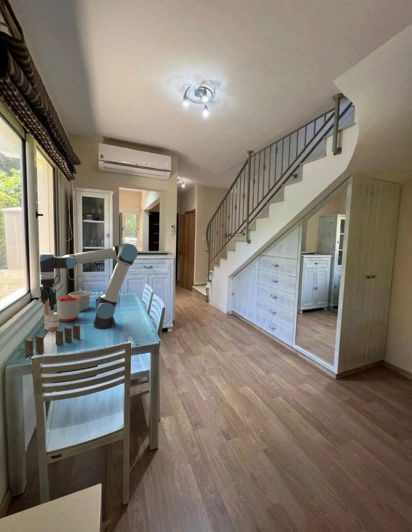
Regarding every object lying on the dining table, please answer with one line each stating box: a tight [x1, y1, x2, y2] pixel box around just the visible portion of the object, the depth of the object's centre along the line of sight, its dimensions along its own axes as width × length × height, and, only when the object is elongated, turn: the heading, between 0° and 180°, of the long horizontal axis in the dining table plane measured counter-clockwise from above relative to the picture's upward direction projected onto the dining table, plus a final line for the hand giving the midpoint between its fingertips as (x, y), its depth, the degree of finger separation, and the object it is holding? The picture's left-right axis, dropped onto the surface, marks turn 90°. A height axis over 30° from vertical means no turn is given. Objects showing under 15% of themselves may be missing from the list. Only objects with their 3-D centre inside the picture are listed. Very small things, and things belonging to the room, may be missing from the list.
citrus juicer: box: [56, 294, 80, 322], centre depth 191 cm, size 16×17×20 cm
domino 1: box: [24, 338, 34, 357], centre depth 133 cm, size 2×5×9 cm, turn 62°
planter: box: [67, 290, 91, 312], centre depth 215 cm, size 17×17×15 cm
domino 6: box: [72, 323, 81, 340], centre depth 157 cm, size 2×5×9 cm, turn 62°
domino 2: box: [35, 334, 45, 354], centre depth 138 cm, size 2×5×9 cm, turn 62°
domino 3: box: [45, 299, 49, 315], centre depth 154 cm, size 2×5×9 cm, turn 62°
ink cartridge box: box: [43, 311, 60, 332], centre depth 170 cm, size 9×5×15 cm, turn 69°
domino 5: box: [63, 326, 73, 344], centre depth 152 cm, size 2×5×9 cm, turn 62°
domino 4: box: [54, 328, 64, 347], centre depth 147 cm, size 2×5×9 cm, turn 62°
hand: (49, 314), depth 155 cm, fingers closed on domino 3, 5 cm apart
